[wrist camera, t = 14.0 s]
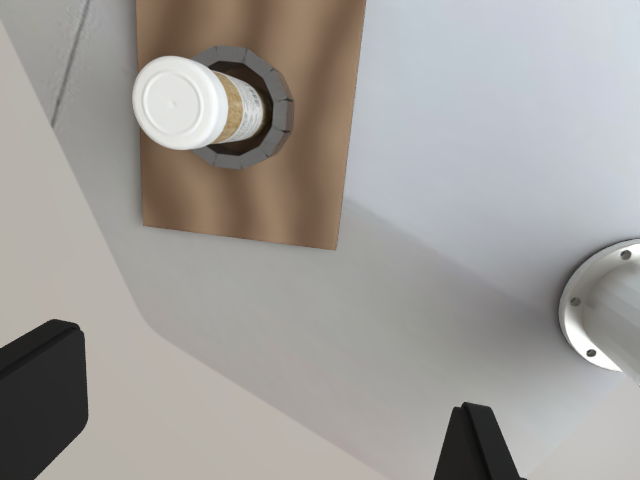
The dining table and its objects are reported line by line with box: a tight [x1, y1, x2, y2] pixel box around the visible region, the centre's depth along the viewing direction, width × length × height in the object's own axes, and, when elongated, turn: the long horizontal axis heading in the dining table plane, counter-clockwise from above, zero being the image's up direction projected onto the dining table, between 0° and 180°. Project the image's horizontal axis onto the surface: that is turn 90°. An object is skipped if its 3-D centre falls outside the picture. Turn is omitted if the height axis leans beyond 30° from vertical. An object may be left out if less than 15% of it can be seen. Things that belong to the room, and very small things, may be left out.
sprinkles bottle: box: [132, 56, 272, 150], centre depth 26 cm, size 5×5×14 cm
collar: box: [190, 45, 295, 169], centre depth 30 cm, size 9×9×4 cm
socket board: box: [136, 0, 366, 250], centre depth 33 cm, size 18×22×2 cm
